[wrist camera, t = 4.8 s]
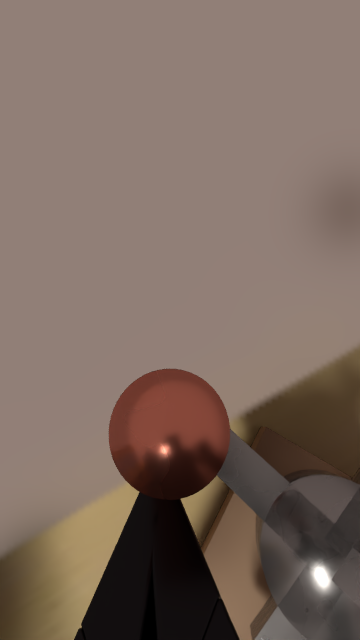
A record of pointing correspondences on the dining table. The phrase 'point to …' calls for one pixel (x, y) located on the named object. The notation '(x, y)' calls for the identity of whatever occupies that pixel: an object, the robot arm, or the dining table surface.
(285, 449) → the plinth
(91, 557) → the dining table surface
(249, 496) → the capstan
